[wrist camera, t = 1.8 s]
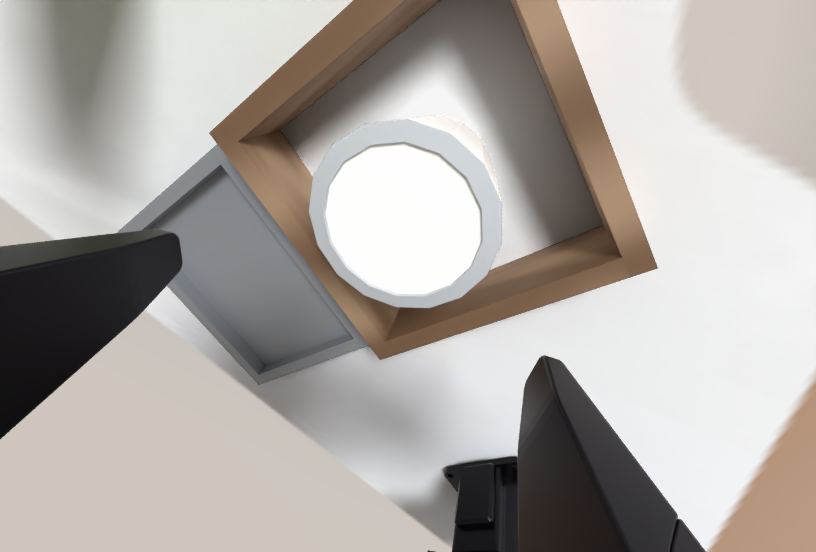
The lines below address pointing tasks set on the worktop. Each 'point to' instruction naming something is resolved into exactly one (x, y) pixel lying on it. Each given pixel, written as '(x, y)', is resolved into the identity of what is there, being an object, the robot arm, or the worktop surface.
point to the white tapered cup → (408, 210)
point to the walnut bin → (502, 287)
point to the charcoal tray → (246, 274)
